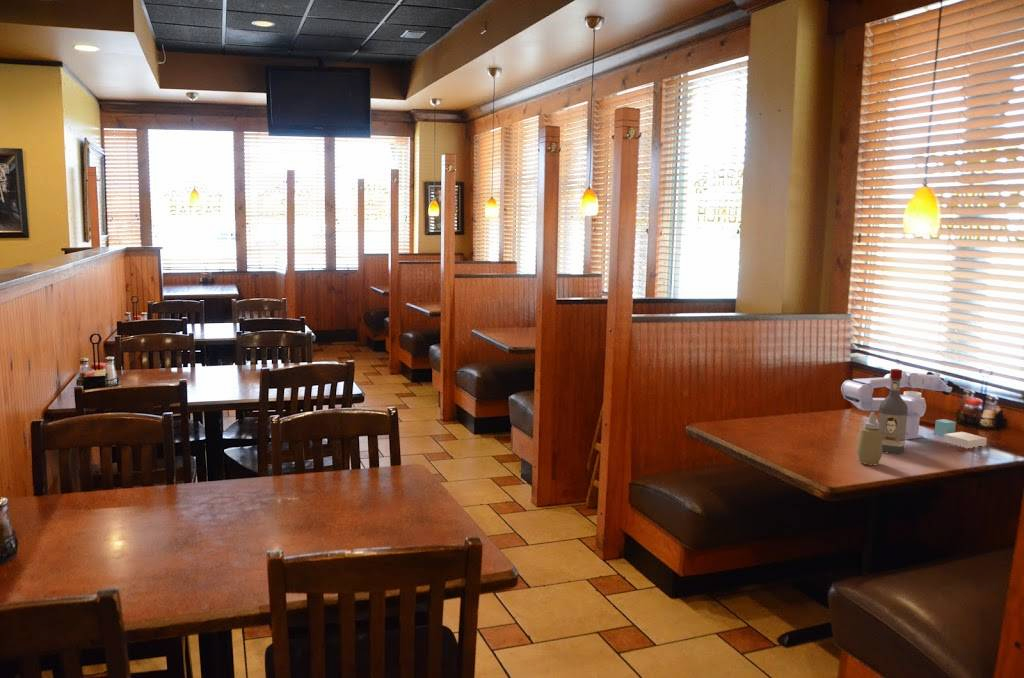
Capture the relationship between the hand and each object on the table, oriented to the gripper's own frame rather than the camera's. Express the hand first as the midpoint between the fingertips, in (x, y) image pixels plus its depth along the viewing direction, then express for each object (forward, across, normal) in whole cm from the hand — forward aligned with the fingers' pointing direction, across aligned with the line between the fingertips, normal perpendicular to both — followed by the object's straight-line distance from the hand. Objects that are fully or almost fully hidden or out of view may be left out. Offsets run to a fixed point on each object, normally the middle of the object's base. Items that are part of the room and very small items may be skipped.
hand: (950, 384), depth 317 cm
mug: (+4, +13, +22) cm, 26 cm away
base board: (-5, -19, +17) cm, 26 cm away
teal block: (-3, -8, +19) cm, 21 cm away
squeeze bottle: (-58, -28, +24) cm, 69 cm away
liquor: (-39, -18, +23) cm, 48 cm away
